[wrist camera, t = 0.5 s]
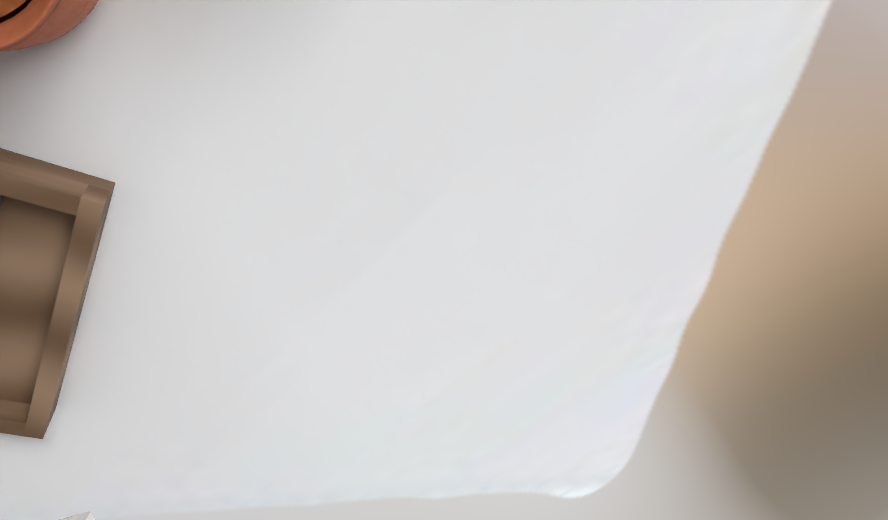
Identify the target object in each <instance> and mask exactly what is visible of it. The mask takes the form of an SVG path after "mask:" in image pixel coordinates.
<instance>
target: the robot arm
mask: <svg viewBox="0 0 888 520" xmlns="http://www.w3.org/2000/svg"><path fill="white" fill-rule="evenodd" d="M60 520H96V519H95V517H94V515H93V513H92V512H91V511H89V512H85V513H82V514H78V515H75V516H71V517H67V518H64V519H60Z"/></svg>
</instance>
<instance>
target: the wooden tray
mask: <svg viewBox="0 0 888 520" xmlns="http://www.w3.org/2000/svg"><path fill="white" fill-rule="evenodd" d="M114 185H115V183H114V182H111V181H108V180H104V179H101V178H98V177H94V176H91V175H88V174H84V173H81V172H78V171H74V170H71V169H68V168H64V167H61V166H58V165H54V164H51V163H48V162H44V161H41V160H38V159H34V158H31V157H28V156H24V155H21V154H17V153H14V152H11V151H7V150H4V149H1V148H0V433H6V434H13V435H19V436H26V437H33V438H39V439H43V437H44V435H45V432H46V430H47V428H48V425H49V423H50V420H51V418H52V416H53V413H54V411H55V408H56V405H57V401H58V397H59V393H60V390H61V386H62V382H63V378H64V375H65V371H66V367H67V363H68V359H69V356H70V352H71V348H72V344H73V340H74V337H75V333H76V329H77V325H78V322H79V318H80V314H81V310H82V306H83V303H84V299H85V295H86V291H87V287H88V284H89V280H90V276H91V272H92V269H93V265H94V261H95V257H96V253H97V250H98V246H99V242H100V238H101V234H102V231H103V227H104V223H105V219H106V216H107V212H108V208H109V204H110V200H111V197H112V193H113V189H114Z"/></svg>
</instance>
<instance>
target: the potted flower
mask: <svg viewBox="0 0 888 520" xmlns="http://www.w3.org/2000/svg"><path fill="white" fill-rule="evenodd" d="M97 1H98V0H0V51H9V50H17V49H23V48H27V47H30V46H34V45H37V44H41V43H45V42H48V41H51V40H53V39H55V38H57V37H60V36H62V35H64V34H66V33H68V32H69V31H70V30H72V29H73V28H74V27H75V26H77V25H78V24H79V23H81V22H82V21H83V20H84V18H85V17H86V16H87V15H88V14H89V13H90V12H91V11H92V9H93V8H94V6H95V5H96V3H97Z"/></svg>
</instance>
